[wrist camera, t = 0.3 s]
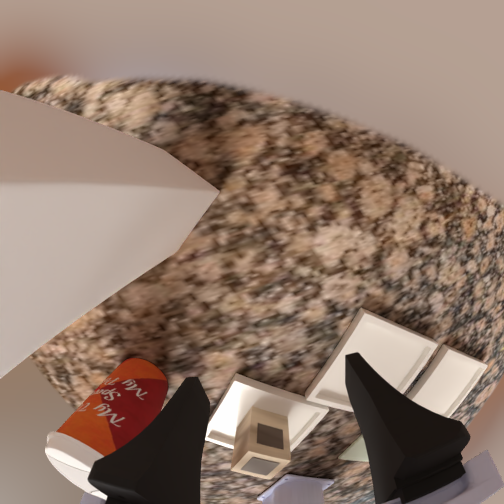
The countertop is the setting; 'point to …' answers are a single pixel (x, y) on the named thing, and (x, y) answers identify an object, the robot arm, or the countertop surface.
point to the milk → (80, 218)
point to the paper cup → (107, 420)
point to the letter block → (261, 444)
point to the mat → (356, 451)
